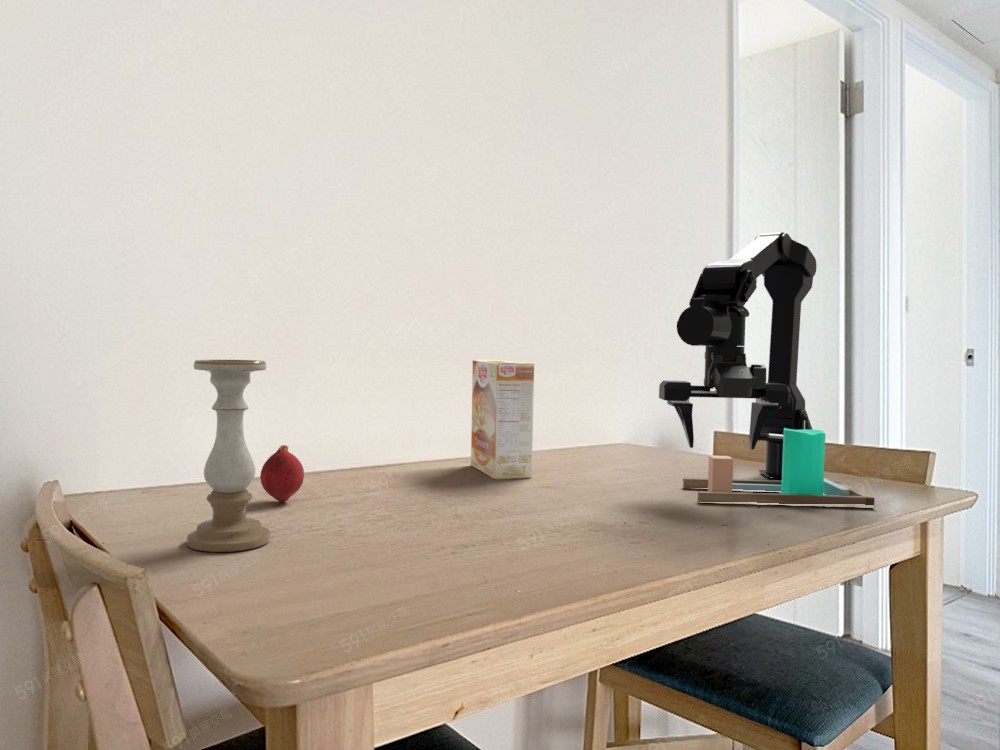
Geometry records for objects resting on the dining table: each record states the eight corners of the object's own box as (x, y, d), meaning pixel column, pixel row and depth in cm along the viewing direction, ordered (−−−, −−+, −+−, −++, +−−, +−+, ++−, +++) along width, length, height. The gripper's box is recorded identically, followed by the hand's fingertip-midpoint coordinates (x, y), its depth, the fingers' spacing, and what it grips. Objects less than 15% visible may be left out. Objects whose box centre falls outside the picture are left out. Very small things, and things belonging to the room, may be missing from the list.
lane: (682, 487, 129) (683, 477, 129) (840, 492, 128) (840, 482, 128) (699, 503, 116) (699, 492, 116) (874, 508, 115) (874, 497, 115)
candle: (777, 499, 121) (780, 420, 120) (784, 493, 126) (786, 417, 125) (820, 504, 118) (823, 423, 117) (824, 497, 123) (828, 420, 123)
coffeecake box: (469, 465, 147) (471, 359, 146) (506, 464, 149) (508, 359, 148) (492, 479, 133) (495, 362, 132) (533, 478, 135) (536, 362, 134)
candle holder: (241, 529, 95) (243, 359, 94) (286, 542, 90) (288, 361, 89) (171, 543, 88) (172, 359, 87) (215, 558, 83) (216, 362, 82)
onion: (291, 507, 108) (292, 448, 107) (252, 505, 109) (252, 446, 108) (310, 499, 113) (311, 443, 113) (273, 497, 114) (273, 441, 114)
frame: (703, 489, 127) (704, 452, 127) (824, 493, 127) (826, 455, 126) (716, 502, 118) (718, 461, 117) (848, 506, 117) (850, 465, 117)
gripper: (672, 345, 114) (669, 454, 115) (805, 348, 113) (801, 457, 114) (659, 344, 125) (656, 444, 126) (780, 347, 124) (777, 447, 125)
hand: (721, 448), depth 122 cm, fingers open, 9 cm apart
